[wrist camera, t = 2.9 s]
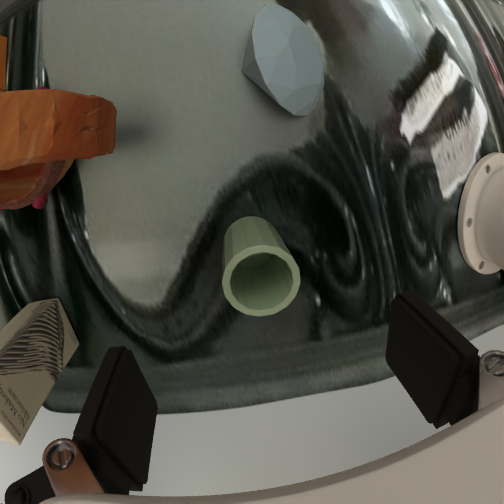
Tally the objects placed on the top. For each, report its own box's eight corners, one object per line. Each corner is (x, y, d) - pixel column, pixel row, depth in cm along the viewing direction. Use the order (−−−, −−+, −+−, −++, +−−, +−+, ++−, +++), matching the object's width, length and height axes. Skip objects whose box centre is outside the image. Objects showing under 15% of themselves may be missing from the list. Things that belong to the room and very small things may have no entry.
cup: (275, 211, 21) (296, 239, 15) (281, 264, 22) (302, 308, 16) (218, 221, 21) (215, 253, 14) (228, 273, 22) (230, 321, 16)
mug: (4, 203, 18) (-128, 269, 4) (3, 109, 15) (-136, 114, 1) (159, 196, 20) (37, 302, 5) (163, 80, 17) (52, -33, 3)
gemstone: (196, 113, 15) (269, 95, 12) (202, 8, 13) (267, -23, 10) (275, 131, 21) (337, 126, 18) (273, 44, 19) (330, 31, 16)
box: (82, 343, 23) (25, 451, 11) (49, 346, 23) (-10, 440, 11) (58, 293, 21) (-25, 392, 9) (26, 299, 21) (-53, 386, 9)
